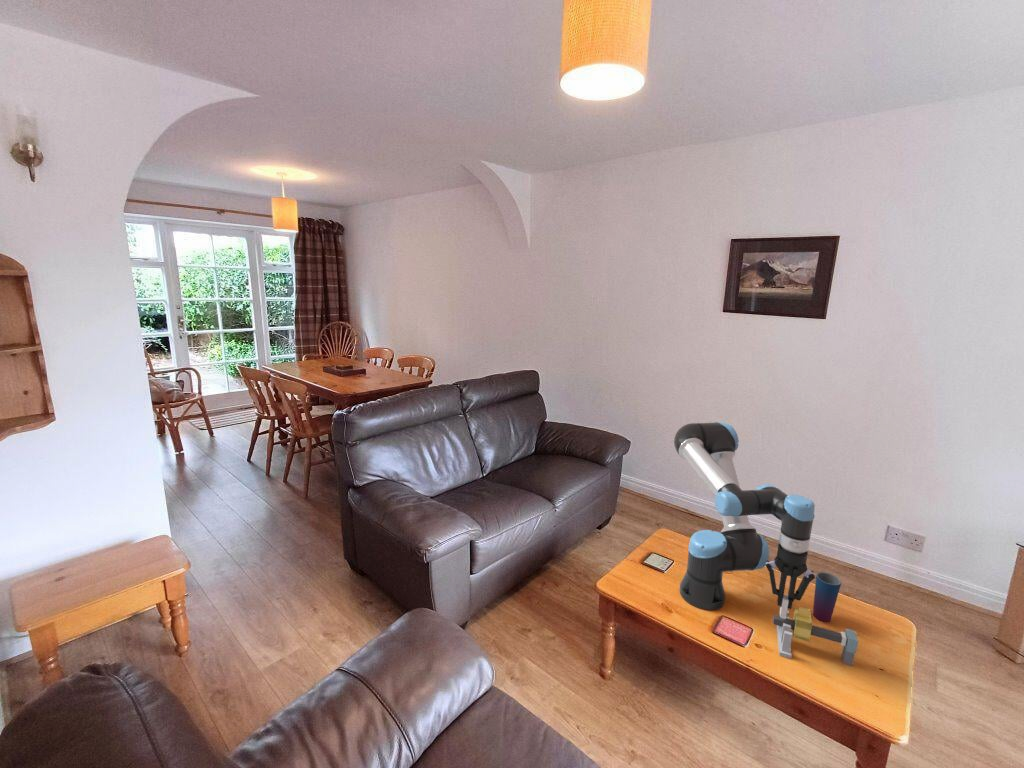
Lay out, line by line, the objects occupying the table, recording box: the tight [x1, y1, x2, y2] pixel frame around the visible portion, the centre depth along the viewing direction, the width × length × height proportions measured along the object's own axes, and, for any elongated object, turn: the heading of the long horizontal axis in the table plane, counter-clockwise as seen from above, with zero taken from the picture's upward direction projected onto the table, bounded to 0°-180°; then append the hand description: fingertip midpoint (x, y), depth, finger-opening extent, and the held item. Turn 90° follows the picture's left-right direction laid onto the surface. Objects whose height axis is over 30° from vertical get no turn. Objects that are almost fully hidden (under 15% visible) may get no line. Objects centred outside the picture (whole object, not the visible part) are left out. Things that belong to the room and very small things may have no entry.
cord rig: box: [772, 610, 859, 666], centre depth 139 cm, size 21×13×9 cm, turn 64°
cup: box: [812, 571, 842, 624], centre depth 152 cm, size 7×7×15 cm
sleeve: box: [792, 606, 813, 643], centre depth 139 cm, size 4×5×9 cm
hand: (782, 615), depth 141 cm, fingers closed
